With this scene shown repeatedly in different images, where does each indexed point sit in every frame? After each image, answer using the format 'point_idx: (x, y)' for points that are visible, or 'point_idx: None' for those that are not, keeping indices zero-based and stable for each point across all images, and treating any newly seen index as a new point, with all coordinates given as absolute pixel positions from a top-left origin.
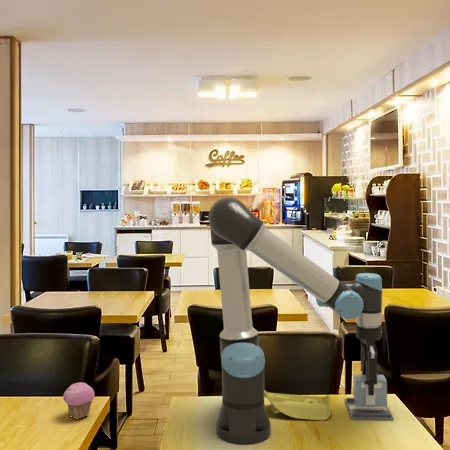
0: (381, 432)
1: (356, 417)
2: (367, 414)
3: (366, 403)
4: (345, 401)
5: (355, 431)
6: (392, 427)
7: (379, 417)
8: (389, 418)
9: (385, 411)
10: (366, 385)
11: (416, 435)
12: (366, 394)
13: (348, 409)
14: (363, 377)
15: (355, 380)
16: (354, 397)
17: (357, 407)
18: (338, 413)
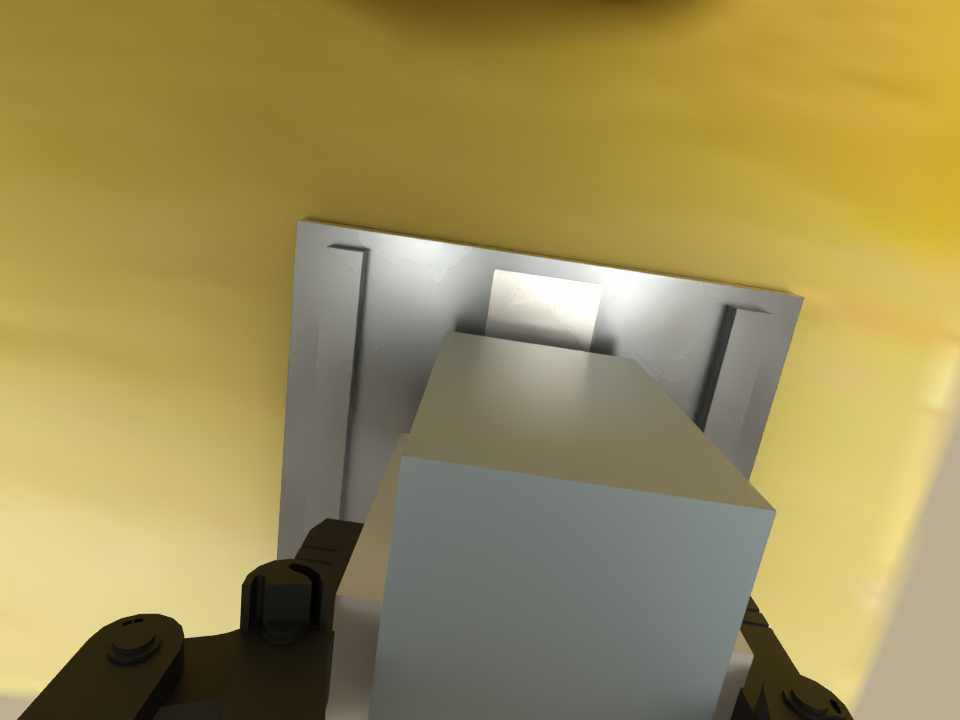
0: (45, 404)
1: (296, 272)
2: (317, 395)
3: (396, 446)
4: (732, 286)
5: (37, 175)
6: (153, 523)
7: (286, 484)
8: (277, 559)
9: None
10: (343, 580)
11: (24, 635)
12: (377, 499)
13: (506, 251)
14: (550, 651)
15: (456, 453)
16: (579, 364)
17: None
18: (471, 124)
